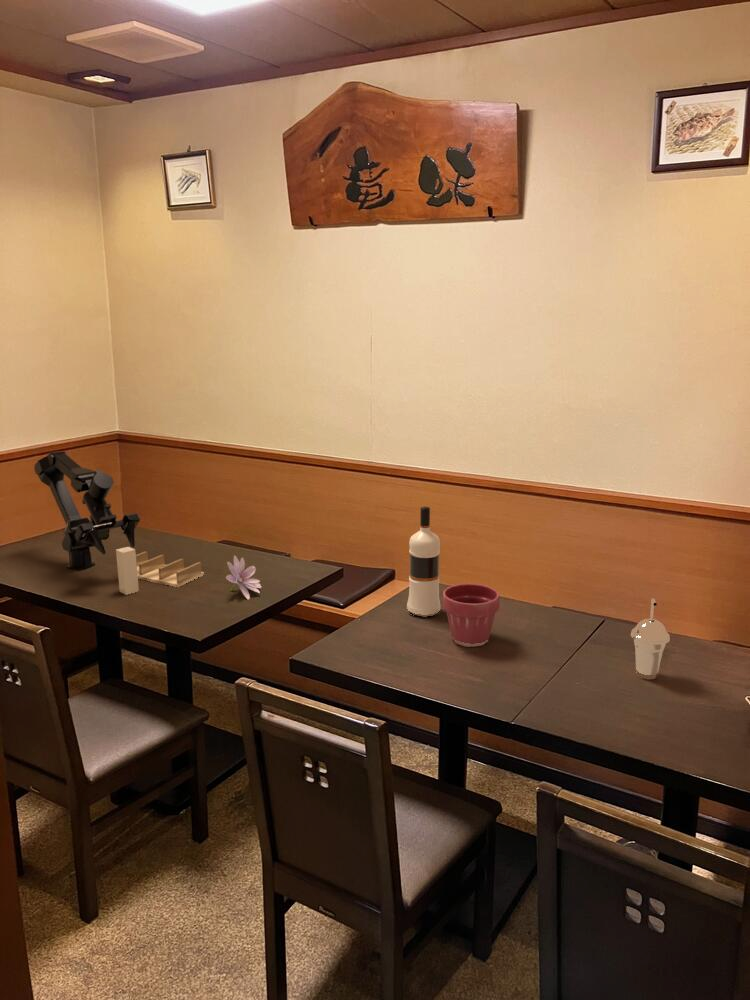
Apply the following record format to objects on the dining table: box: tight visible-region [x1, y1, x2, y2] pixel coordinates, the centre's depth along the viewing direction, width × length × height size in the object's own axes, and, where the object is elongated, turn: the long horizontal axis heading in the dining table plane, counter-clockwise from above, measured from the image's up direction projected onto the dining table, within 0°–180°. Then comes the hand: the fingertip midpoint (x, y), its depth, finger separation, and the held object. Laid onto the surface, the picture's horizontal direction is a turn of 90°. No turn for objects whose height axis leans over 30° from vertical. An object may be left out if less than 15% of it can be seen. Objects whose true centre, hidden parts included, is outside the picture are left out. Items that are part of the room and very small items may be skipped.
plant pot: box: [442, 583, 500, 644], centre depth 202 cm, size 14×14×13 cm
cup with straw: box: [630, 597, 671, 675], centre depth 182 cm, size 8×9×20 cm
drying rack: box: [136, 551, 205, 589], centre depth 249 cm, size 23×12×4 cm, turn 62°
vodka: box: [406, 506, 442, 615], centre depth 217 cm, size 9×9×30 cm
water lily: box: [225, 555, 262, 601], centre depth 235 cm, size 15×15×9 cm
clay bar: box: [115, 546, 140, 596], centre depth 235 cm, size 4×4×13 cm
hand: (119, 550), depth 236 cm, fingers open, 9 cm apart
